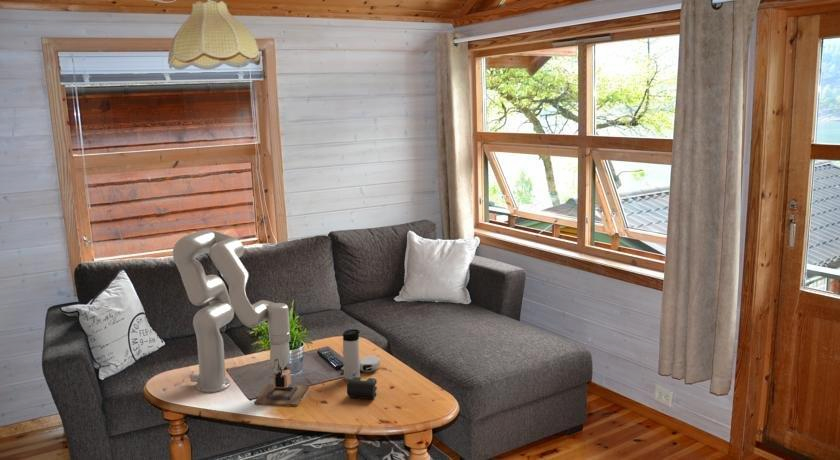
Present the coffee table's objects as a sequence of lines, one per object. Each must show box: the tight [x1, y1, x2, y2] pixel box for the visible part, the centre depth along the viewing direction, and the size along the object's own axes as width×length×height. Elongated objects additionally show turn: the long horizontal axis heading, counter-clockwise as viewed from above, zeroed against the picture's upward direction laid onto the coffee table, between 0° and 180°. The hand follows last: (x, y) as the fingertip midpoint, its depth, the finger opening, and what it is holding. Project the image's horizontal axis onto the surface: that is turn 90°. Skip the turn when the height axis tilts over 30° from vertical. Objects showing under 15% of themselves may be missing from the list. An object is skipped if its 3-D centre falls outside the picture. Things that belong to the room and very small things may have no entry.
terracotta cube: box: [272, 369, 292, 388], centre depth 255 cm, size 5×5×5 cm
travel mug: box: [342, 329, 361, 382], centre depth 270 cm, size 6×7×20 cm
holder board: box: [253, 383, 310, 407], centre depth 256 cm, size 16×16×2 cm
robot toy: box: [340, 354, 381, 373], centre depth 281 cm, size 12×4×15 cm
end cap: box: [346, 376, 378, 400], centre depth 255 cm, size 10×7×7 cm
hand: (282, 383), depth 256 cm, fingers closed on terracotta cube, 4 cm apart
